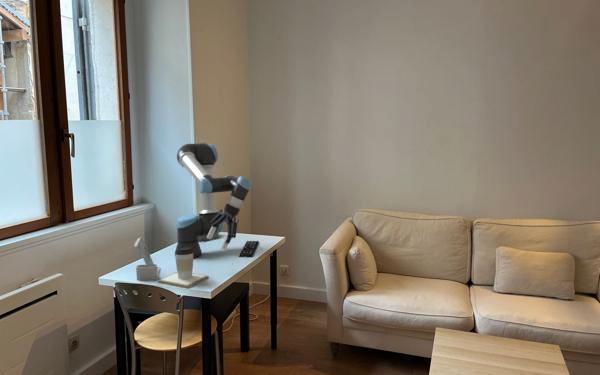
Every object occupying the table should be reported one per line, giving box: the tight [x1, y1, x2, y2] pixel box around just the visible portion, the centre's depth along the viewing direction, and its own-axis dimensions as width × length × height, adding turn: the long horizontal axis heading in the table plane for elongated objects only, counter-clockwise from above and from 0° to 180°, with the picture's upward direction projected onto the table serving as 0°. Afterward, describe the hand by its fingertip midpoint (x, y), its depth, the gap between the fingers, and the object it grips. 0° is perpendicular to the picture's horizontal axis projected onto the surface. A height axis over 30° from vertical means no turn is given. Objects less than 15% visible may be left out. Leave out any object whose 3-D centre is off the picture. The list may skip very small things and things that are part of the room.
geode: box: [198, 233, 220, 243], centre depth 298 cm, size 20×12×10 cm, turn 156°
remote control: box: [238, 240, 260, 258], centre depth 274 cm, size 8×32×2 cm, turn 178°
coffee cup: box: [174, 246, 194, 279], centre depth 220 cm, size 9×9×15 cm
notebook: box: [157, 271, 209, 289], centre depth 220 cm, size 18×16×1 cm
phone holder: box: [133, 237, 161, 281], centre depth 227 cm, size 17×10×18 cm, turn 12°
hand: (215, 243), depth 229 cm, fingers open, 13 cm apart
